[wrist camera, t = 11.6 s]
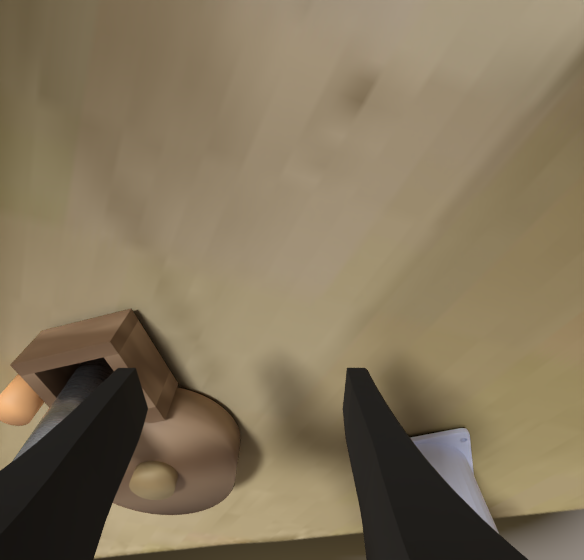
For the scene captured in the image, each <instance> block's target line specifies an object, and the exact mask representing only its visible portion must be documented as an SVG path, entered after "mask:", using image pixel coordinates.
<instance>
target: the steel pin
mask: <svg viewBox="0 0 584 560" xmlns="http://www.w3.org/2000/svg"><path fill="white" fill-rule="evenodd" d="M113 372H114V371H113V369H112V368H111V367H110V365H109V364H108V362H107V361H106V360H105V358H104V357H103V358H98V359H94V360H90V361H85V362H81V364H80V365H79V366H78V368H77V369H76V371H75V372H74V374H73V375H72V376H71V378H70V379H69V381H68V382H67V384H66V385H65V386H64V388H63V389H62V391H61V392H60V394H59V395H58V397H57V398H56V399H55V401H54V402H53V404H52V405H51V407H50V408H49V409H48V411H47V412H46V414H45V415H44V417H43V418H42V420H41V421H40V422H39V424H38V425H37V427H36V428H35V430H34V431H33V432H32V434H31V435H30V437H29V438H28V440H27V441H26V442H25V444H24V445H23V447H22V448H21V450H20V451H19V453H18V454H17V455H16V457H15V458H14V460H15V459H17V458H18V457H19V456H21V455H22V454H23V453H24V452H26V451H27V450H28V449H29V448H31V447H32V446H33V445H34V444H35V443H37V442H38V441H39V440H40V439H41V438H42V437H44V436H45V435H46V434H47V433H48V432H49V431H51V430H52V429H53V428H54V427H55V426H56V425H57V424H59V423H60V422H61V421H62V420H63V419H64V418H65V417H66V416H68V415H69V414H70V413H71V412H72V411H73V410H74V409H75V408H76V407H77V406H78V405H79V404H81V403H82V402H83V401H84V400H85V399H86V398H87V397H88V396H89V395H90V394H91V393H92V392H93V391H94V390H95V389H96V388H97V387H98V386H99V385H100V384H101V383H103V382H104V381H105V380H106V379H107V378H108V377H109V376H110V375H111V374H112V373H113ZM14 460H13V461H14ZM13 461H12V462H13Z"/></svg>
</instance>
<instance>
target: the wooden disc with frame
mask: <svg viewBox="0 0 584 560" xmlns="http://www.w3.org/2000/svg"><path fill="white" fill-rule="evenodd" d="M103 357H104V358H105V360H106V361H107V362H108V364H109V365H110V367H111V368H112V369H113V371H115V370H116V369H117V368H136V370H137V373H138V377H139V380H140V383H141V386H142V390H143V393H144V396H145V400H146V403H147V406H148V411H147V415H146V419H145V422H144V426H143V429H142V432H141V436H140V439H139V441H138V444H137V446H136V449H135V451H134V453H133V456H132V458H131V461H130V463H129V465H128V468H127V470H126V472H125V475H124V477H123V479H122V482H121V484H120V487H119V489H118V491H117V494H116V496H115V498H114V501H113V503H115V504H117V505H120V506H122V507H125V508H128V509H132V510H135V511H140V512H145V513H151V514H160V515H181V514H189V513H195V512H199V511H202V510H206V509H208V508H211V507H213V506H215V505H217V504H219V503H220V502H221V501H223V500H224V499H225V498H226V497H227V496H228V495H229V494H230V492H231V491H232V489H233V487H234V484H235V478H236V471H237V464H238V456H239V449H240V442H241V439H240V432H239V428H238V426H237V424H236V422H235V421H234V419H233V418H232V416H231V415H230V414H229V413H228V412H227V411H226V410H225V409H224V408H222V407H221V406H220V405H219V404H217V403H216V402H214V401H212V400H211V399H209V398H207V397H205V396H203V395H200V394H198V393H196V392H192V391H189V390H186V389H182V388H177V386H178V383H177V381H176V379H175V378H174V376H173V375H172V373H171V371H170V370H169V368H168V367H167V365H166V363H165V362H164V360H163V359H162V357H161V355H160V354H159V352H158V351H157V349H156V347H155V346H154V344H153V343H152V341H151V339H150V338H149V336H148V335H147V333H146V331H145V330H144V328H143V327H142V325H141V323H140V322H139V320H138V319H137V317H136V315H135V314H134V312H133V311H132V309H128V310H124V311H120V312H115V313H111V314H107V315H103V316H99V317H95V318H91V319H87V320H83V321H79V322H75V323H71V324H67V325H63V326H59V327H54V328H50V329H46V330H42V331H41V332H40V333H39V334H38V335H37V336H36V338H35V339H34V340H33V341H32V342H31V343H30V344H29V345H28V346H27V347H26V348H25V349H24V351H23V352H22V353H21V354H20V355H19V356H18V357H17V358H16V359H15V360H14V361H13V362H12V363H11V366H12V368H13V369H14V370H15V371H16V372H17V373H18V374H19V375H20V376H21V377H22V378H23V379H24V381H25V382H26V383H27V384H28V385H29V386H30V387H31V388H32V389H33V390H34V391H35V392H36V394H37V395H38V396H39V397H40V398H41V399H42V400H43V401H44V402H45V403H46V404H47V405H48V406H49V408H50V407H51V405H52V404H53V402H54V401H55V399H56V398H57V397H58V395H59V394H60V392H61V391H62V389H63V388H64V386H65V385H66V384H67V382H68V381H69V379H70V378H71V376H72V375H73V374H74V372H75V371H76V369H77V368H78V366H79V365H80V364H81V362H85V361H90V360H94V359H98V358H103Z"/></svg>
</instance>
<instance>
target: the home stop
mask: <svg viewBox="0 0 584 560" xmlns="http://www.w3.org/2000/svg"><path fill="white" fill-rule="evenodd" d="M43 403H44V401H43V400H42V399H41V398H40V397H39V396H38V395H37V394H36V392H35V391H34V390H33V389H32V388H31V387H30V386H29V385H28V384H27V383H26V382H25V381H24V379H23V378H22V377H21V376H20V375H19V374H18V375H17V376H16V377H15V378H14V379H13V381H12V382H11V383H10V384H9V385H8V386H7V387H6V389H5V390H4V391H3V392H2V393H1V394H0V421H2V422H4V423H7V424H10V425H15V426H22V425H26V424H28V423H29V422H30V421H31V420H32V418H33V417H34V416H35V414H36V413H37V412H38V410H39V409H40V407H41V406H42V405H43Z"/></svg>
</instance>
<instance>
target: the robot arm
mask: <svg viewBox="0 0 584 560" xmlns="http://www.w3.org/2000/svg"><path fill="white" fill-rule="evenodd" d="M147 411H148V406H147V403H146V400H145V396H144V393H143V390H142V386H141V383H140V380H139V377H138V373H137V370H136V368H117V369H116V370H115V371H114V372H113V373H112V374H111V375H110V376H109V377H108V378H107V379H106V380H105V381H104V382H103V383H101V384H100V385H99V386H98V387H97V388H96V389H95V390H94V391H93V392H92V393H91V394H90V395H89V396H88V397H87V398H86V399H85V400H84V401H83V402H82V403H81V404H79V405H78V406H77V407H76V408H75V409H74V410H73V411H72V412H71V413H70V414H69V415H68V416H66V417H65V418H64V419H63V420H62V421H61V422H60V423H59V424H57V425H56V426H55V427H54V428H53V429H52V430H51V431H49V432H48V433H47V434H46V435H45V436H44V437H42V438H41V439H40V440H39V441H38V442H37V443H35V444H34V445H33V446H32V447H31V448H29V449H28V450H27V451H26V452H24V453H23V454H22V455H21V456H19V457H18V458H17V459H15V460H14V461H13V462H11V463H10V464H9V465H7V466H6V467H5V468H3V469H2V470H1V471H0V560H93V559H94V555H95V552H96V549H97V546H98V543H99V540H100V537H101V534H102V530H103V527H104V524H105V521H106V518H107V516H108V513H109V511H110V508H111V505H112V503H113V501H114V498H115V496H116V494H117V491H118V489H119V487H120V484H121V482H122V479H123V477H124V475H125V472H126V470H127V468H128V465H129V463H130V461H131V458H132V456H133V453H134V451H135V449H136V446H137V444H138V441H139V439H140V436H141V432H142V429H143V426H144V422H145V419H146V415H147ZM343 416H344V426H345V436H346V442H347V447H348V452H349V457H350V462H351V467H352V472H353V476H354V481H355V486H356V491H357V496H358V501H359V506H360V511H361V517H362V524H363V533H364V541H365V549H366V558H367V560H528V559H527V558H526V557H525V556H523V555H522V554H521V553H520V552H519V551H517V550H516V549H515V548H514V547H513V546H511V544H509V543H508V542H507V541H506V540H505V539H504V538H503V537H502V536H500V535H499V532H498V530H497V528H496V525H495V523H494V521H493V518H492V516H491V514H490V512H489V509H488V507H487V505H486V502H485V500H484V498H483V495H482V493H481V491H480V489H479V486H478V484H477V482H476V479H475V477H474V472H473V462H472V453H471V443H470V434H469V432H468V430H467V429H466V428H458V429H453V430H447V431H442V432H437V433H431V434H426V435H421V436H416V437H409V436H408V434H407V433H406V432H405V430H404V429H403V428H402V426H401V425H400V423H399V422H398V420H397V419H396V417H395V416H394V414H393V413H392V411H391V410H390V408H389V407H388V405H387V404H386V402H385V400H384V399H383V397H382V395H381V394H380V392H379V390H378V389H377V387H376V385H375V383H374V381H373V380H372V378H371V376H370V374H369V372H368V370H367V369H366V368H347V373H346V383H345V393H344V402H343Z"/></svg>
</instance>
